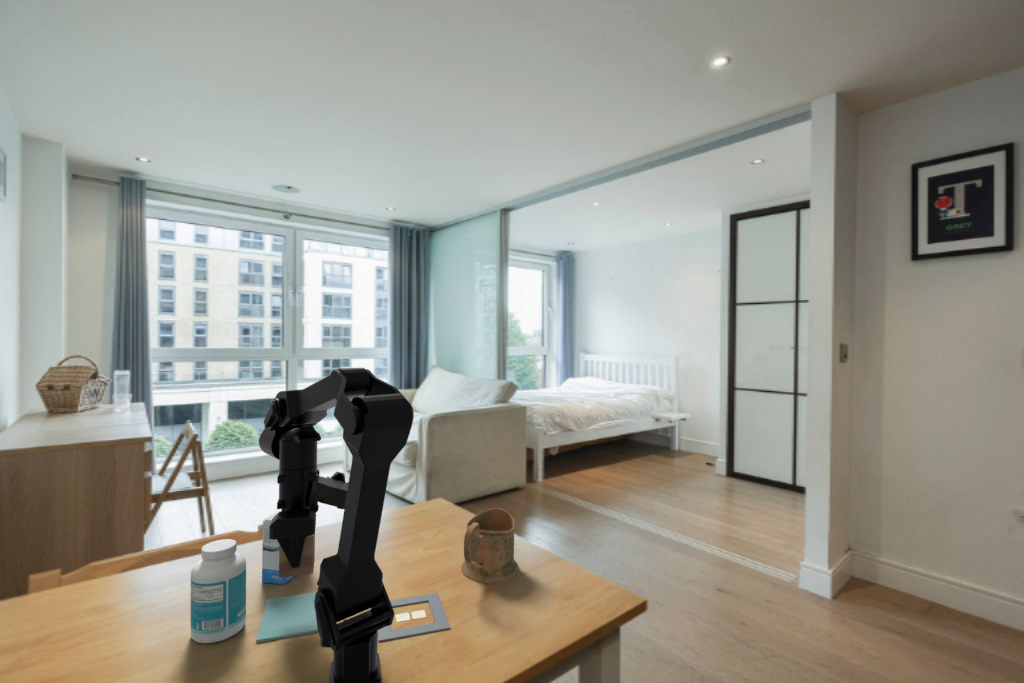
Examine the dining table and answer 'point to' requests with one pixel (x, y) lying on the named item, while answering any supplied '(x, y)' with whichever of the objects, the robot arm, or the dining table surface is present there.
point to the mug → (490, 547)
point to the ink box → (271, 556)
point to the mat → (288, 617)
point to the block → (305, 562)
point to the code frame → (437, 612)
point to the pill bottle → (218, 592)
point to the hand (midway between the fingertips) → (297, 560)
